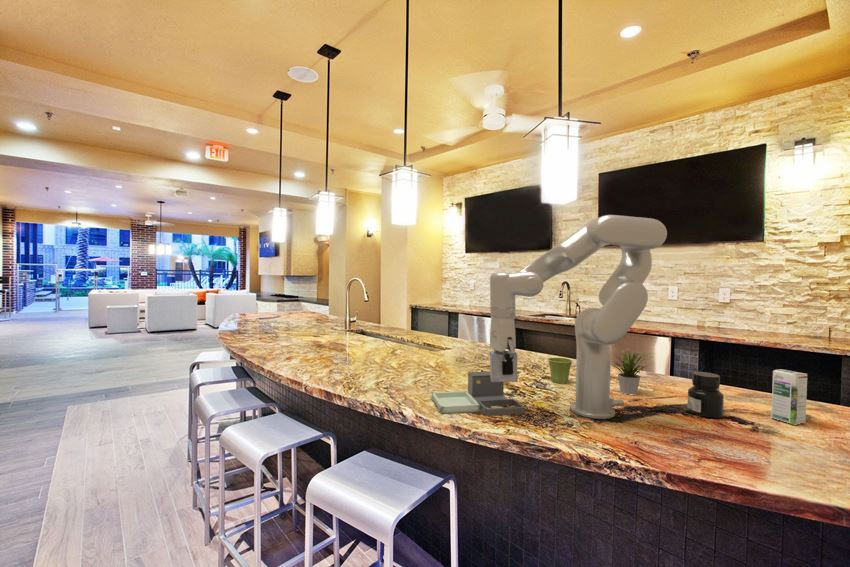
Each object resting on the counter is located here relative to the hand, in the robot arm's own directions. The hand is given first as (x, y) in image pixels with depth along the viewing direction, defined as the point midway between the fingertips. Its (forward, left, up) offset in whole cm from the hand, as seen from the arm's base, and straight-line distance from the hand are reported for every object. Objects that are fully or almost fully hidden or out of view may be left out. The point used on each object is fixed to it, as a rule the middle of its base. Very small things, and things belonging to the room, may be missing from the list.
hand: (503, 371), depth 118 cm
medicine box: (0, 0, -3) cm, 3 cm away
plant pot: (-34, -27, -12) cm, 45 cm away
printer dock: (+1, -6, -12) cm, 13 cm away
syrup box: (-79, +21, -12) cm, 83 cm away
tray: (+14, -6, -12) cm, 19 cm away
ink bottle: (-60, +12, -12) cm, 63 cm away
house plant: (-52, -9, -12) cm, 54 cm away
